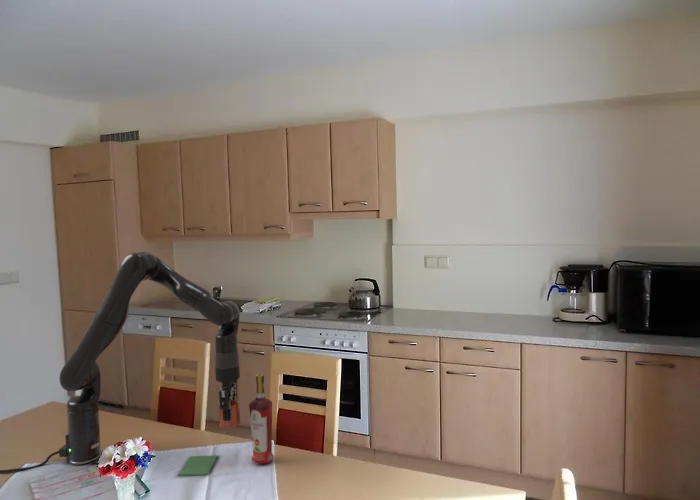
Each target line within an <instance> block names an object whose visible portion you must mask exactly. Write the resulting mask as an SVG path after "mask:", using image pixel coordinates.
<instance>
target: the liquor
mask: <svg viewBox="0 0 700 500" xmlns="http://www.w3.org/2000/svg"><path fill="white" fill-rule="evenodd" d="M254 377H255V385H256V386H255V387H256V388H255V399H253V400H252V401H250V403H248V410H249V422H250V431H251V432H250V433H251V443H252V456H251V461H253V462H254V463H255V464H257V465H267V464H269V463H270V462H271V461H272V460H273V458H274V454H273V446H272V445H273V443H272V442H273V440H272V439H273V438H272V436H273V435H272V434H273V402H272V400H270V399H269V398H266V393H265V387H264V386H265V385H264V383H265V375H264V374H261V373H260V374H256V375H255V376H254Z"/></svg>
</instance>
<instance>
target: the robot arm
mask: <svg viewBox="0 0 700 500" xmlns="http://www.w3.org/2000/svg"><path fill="white" fill-rule="evenodd" d="M114 276H115V277H114V279H113V281H112V283H111V286H110V288H109V290H108V291H107V293H106V294H105V297H103V300H102V302H101V304H100V305H99V307H98V309H97V310H96V312H95V314H94V315H93V317H92V319H91V321H90V323H89V325H88V327H87V329H86V331H85V333H84V334H83V335H82V338H81V339H80V341H79V343H78V345H77V347H76V349H75V350H74V351H73V352H72V354H71V355H70V357H69V359H68V360H67V361H66V363H65V364H64V365H63V367H62V368H61V370H60V372H59V384H60V386H61V388H62V389H63V390H65V391H67V392H72V395H71V396H70V398H69V399H68V400H67V402H66V420H67V433H65V437H64V438H65V444H64V445H63V446H62V447H59V448H58V450H57V451H55V452H52V453H51V454H49V455H48V456H47V457H46V459H45V460H44V461H43V462H41V463H38V464H36V465H33V466H28V467H18V468H10V469H0V474H2V473H12V472H20V471H27V470H32V469H36V468H39V467H42V466H44V465H46V464H47V463H48V462H49V460H50V459H51V458H52V457H53V456H55V455H57V454H58V456H59V458H66V464H71V465H73V466H74V465H75V466H79V465H86V464H91V463H92V462H95V461H97V460H99V459H100V458H101V456H102V448H101V431H100V430H101V429H100V413H99V412H100V411H99V410H100V409H99V401H100V397H101V386H102V385H101V377H102V376H101V369H100V366H99V363H98V362H97V361H96V360H98V358H99V356H100V355H102V353H103V352H104V351H105V350H106V349H107V348H108V347H109V346H110V345H111V344H112V343H113V342H114V341H115V339H117V337H118V336H119V334H120V332H121V330H122V329H123V327H124V326H125V323H126V322H127V319H128V317H129V312H130V303H131V299H132V297H133V295H134V294H135V291H136V290H137V288H138V287H139V285H140V284H141V282H143V281H148V280H149V281H152V282H154V283H156V284H159V285H162V286H163V287H164V288H166V289H167V290H168V291H169V292H171V294H172V295H173V296H174V297H175V298H176V299H177V300H179V301H180V302H181V303H183V304H185V305H186V306H188V307H190V308H192V309H193V310H195V311H198V312H199V314H200V315H202V316H203V317H204V318H205V319H207V321H208V322H210V323H211V324H214V325H216V326H218V329H217V332H216V334H215V336H214V372H215V375H214V376H215V381H216V382H218V383H221V386H220V390H219V391H218V396H219V397H218V399H219V403H220V409H223V420H224V421H230V419H231V415H230V407H231V406H230V404H231V401H232V400H237V396H238V384H237V383H238V382H237V381H238V380H239V379H240V377H241V372H240V371H241V369H240V355H239V354H240V353H239V346H238V343H239V342H238V333H239V326H240V309H239V306H238V304H236V303H235V302H234V301H232V300H226V301H223V302H221V301H219V300H217V299H216V298H215V297H214V295H213V293H212V292H211V291H209V290H208V289H205V288H204V287H202V286H201V285H198V284H197V283H195V282H193V281H192V280H189V279H188V278H186V277H185V276H184V275H181V274H180V273H178V272H177V271H175V269H173V268H171V267H170V266H169V265H167V264H166V263H165V262H164V261H162V260H161V259H160V258H159V257H157V256H156V255H155V254H153V253H151V252H149V251H137V252H131V253H129V254H127V255H126V256H125V257H124V258H123V259H122V260H121V262H120V264H119V267H118V269H117V272H116V274H115V275H114ZM224 402H226V405H224ZM99 457H100V458H99Z"/></svg>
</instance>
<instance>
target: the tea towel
mask: <svg viewBox="0 0 700 500" xmlns="http://www.w3.org/2000/svg"><path fill="white" fill-rule="evenodd" d="M218 458H219V456H218V455H191V456H189V457H188V459H187V461H186V462H185V463H184V465H183V466H182V468H181V469H180V470H179V472H178V474H177V476H178V477H191V476H193V477H194V476H209V473H210V472H211V470H212V468H213V467H214V465H215V463H216V461H217V459H218Z"/></svg>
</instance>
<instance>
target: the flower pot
mask: <svg viewBox="0 0 700 500" xmlns="http://www.w3.org/2000/svg"><path fill="white" fill-rule="evenodd" d="M224 405H226V402H224ZM230 406H231V407H230V415H231V419H230V421H224V420H223V409H220V402H218V421H219V427H220V428H222V429H232V428H236V427H238V426H239V425H240V424H241V422H240V421H241V417H240V401H239V400H237V399H236V400H232V401H231V404H230Z"/></svg>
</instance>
